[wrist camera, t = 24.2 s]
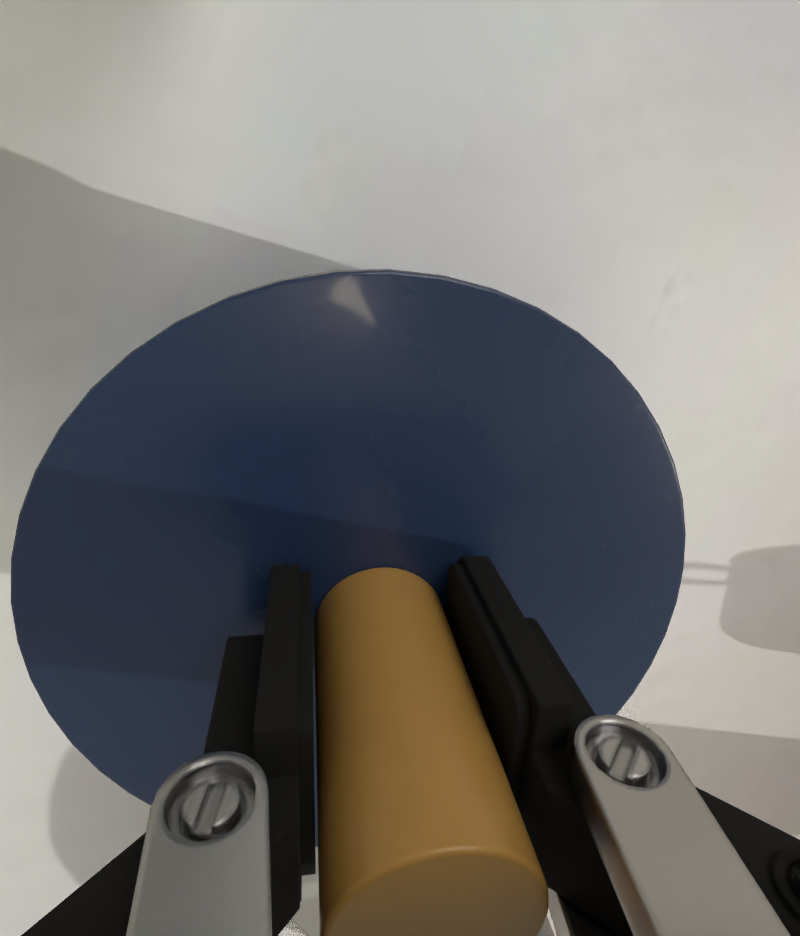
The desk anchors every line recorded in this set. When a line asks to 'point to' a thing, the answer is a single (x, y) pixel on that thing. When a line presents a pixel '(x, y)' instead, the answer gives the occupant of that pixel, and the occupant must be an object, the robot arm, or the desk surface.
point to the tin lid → (352, 561)
